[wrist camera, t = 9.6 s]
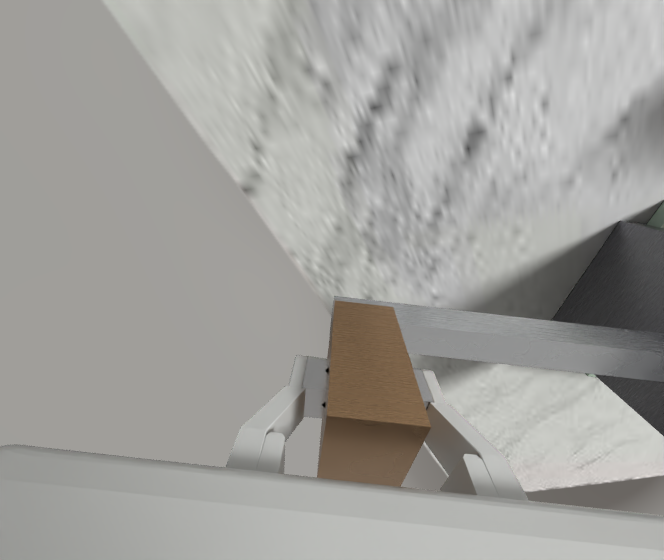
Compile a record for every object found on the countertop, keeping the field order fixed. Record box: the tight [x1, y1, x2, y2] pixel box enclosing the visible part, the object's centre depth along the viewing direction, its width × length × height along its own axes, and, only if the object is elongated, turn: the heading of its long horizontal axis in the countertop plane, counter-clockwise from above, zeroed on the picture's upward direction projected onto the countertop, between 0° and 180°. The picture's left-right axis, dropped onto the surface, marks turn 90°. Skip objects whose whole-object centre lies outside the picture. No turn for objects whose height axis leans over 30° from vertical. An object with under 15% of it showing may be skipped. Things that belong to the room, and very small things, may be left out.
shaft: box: [317, 296, 664, 487], centre depth 11 cm, size 26×4×8 cm, turn 84°
